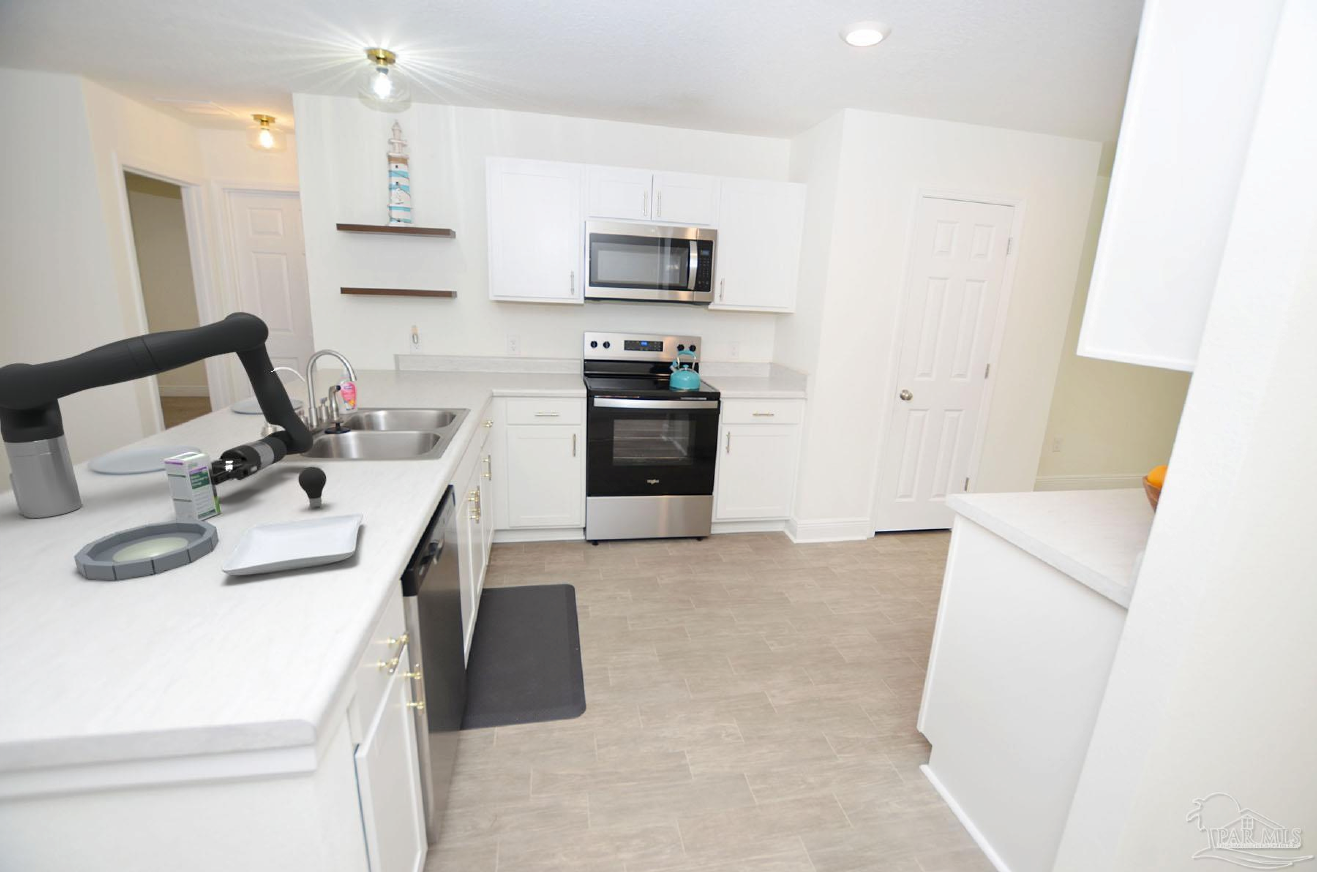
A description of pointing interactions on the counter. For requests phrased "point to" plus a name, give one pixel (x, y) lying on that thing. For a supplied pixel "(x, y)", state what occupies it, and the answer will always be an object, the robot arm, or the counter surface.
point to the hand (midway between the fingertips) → (194, 480)
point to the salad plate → (294, 544)
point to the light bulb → (313, 484)
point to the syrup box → (192, 486)
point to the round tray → (146, 549)
